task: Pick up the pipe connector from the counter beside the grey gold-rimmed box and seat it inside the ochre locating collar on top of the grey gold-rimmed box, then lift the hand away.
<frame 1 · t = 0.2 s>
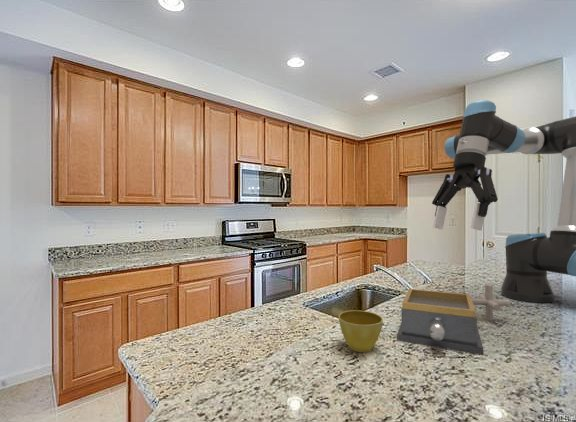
hand: (455, 228, 83), 27 cm above the countertop, tool tilted 15°, fingers open, 13 cm apart
pipe connector: (489, 320, 88), on the countertop
flower pot: (360, 348, 71), on the countertop
grey gold-rimmed box: (438, 333, 78), on the countertop
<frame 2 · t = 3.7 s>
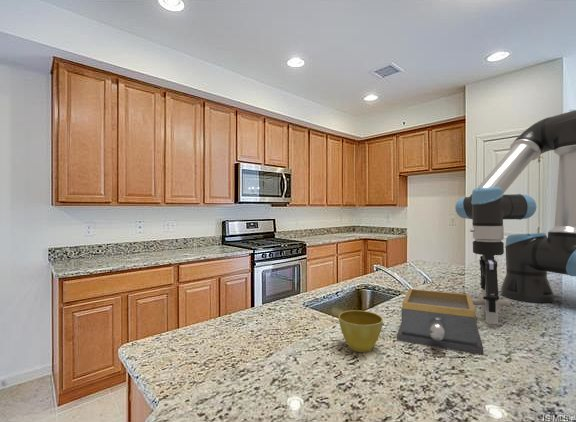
hand: (489, 317, 88), 1 cm above the countertop, tool pointing down, fingers closed on pipe connector, 10 cm apart
pipe connector: (489, 320, 88), on the countertop, touching gripper
everything else where it was.
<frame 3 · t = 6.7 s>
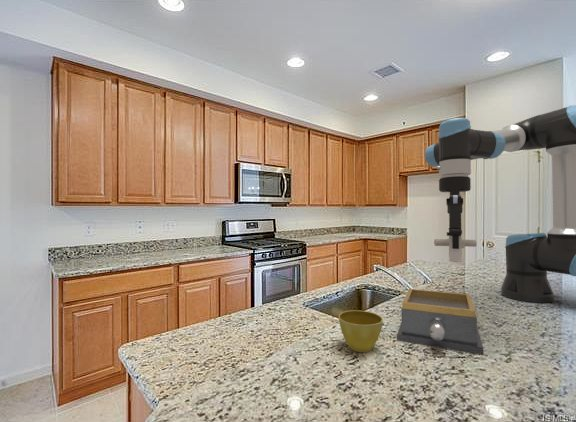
hand: (454, 258, 82), 19 cm above the countertop, tool pointing down, fingers closed on pipe connector, 10 cm apart
pipe connector: (454, 262, 82), point 18 cm above the countertop, touching gripper
everything else where it was.
when the fingers open (10 cm above the countertop, at t = 10.0 s): pipe connector drops 2 cm, resting on grey gold-rimmed box.
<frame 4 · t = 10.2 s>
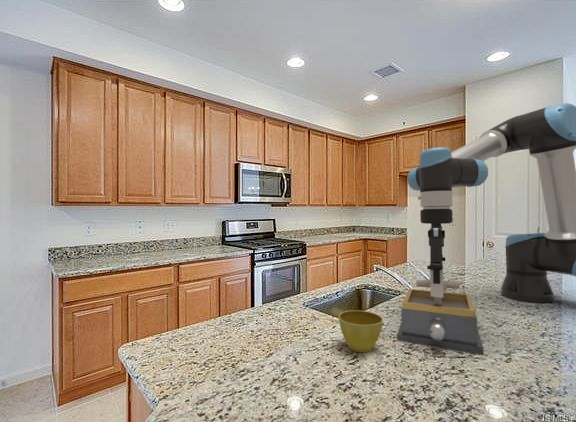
hand: (437, 290, 79), 11 cm above the countertop, tool pointing down, fingers open, 13 cm apart
pipe connector: (437, 304, 79), point 7 cm above the countertop, touching grey gold-rimmed box
everything else where it was.
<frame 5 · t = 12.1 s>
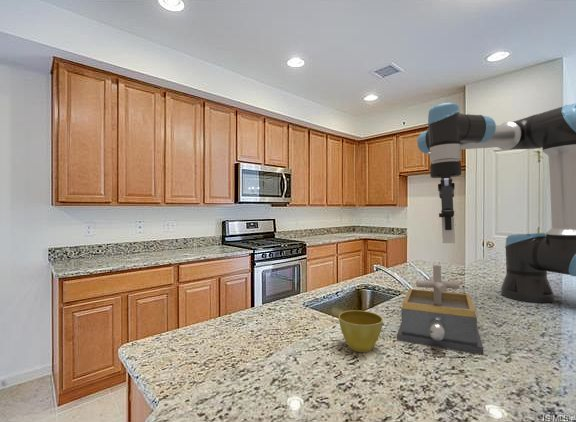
hand: (448, 240, 82), 24 cm above the countertop, tool pointing down, fingers open, 13 cm apart
nothing on the countertop moved.
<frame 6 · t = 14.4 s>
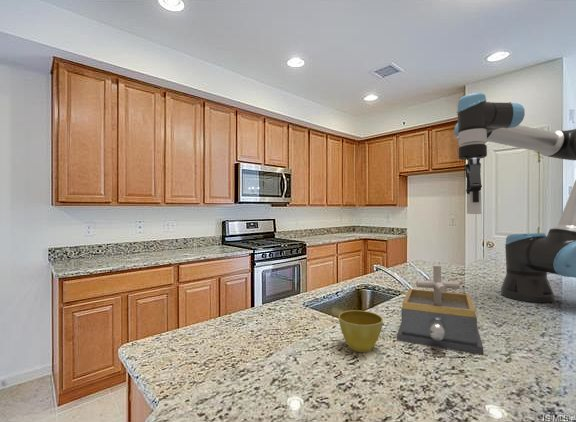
hand: (473, 213, 94), 31 cm above the countertop, tool pointing down, fingers open, 13 cm apart
nothing on the countertop moved.
at the end: pipe connector 0.1 cm off-centre on the grey gold-rimmed box, point 7.3 cm above the grey gold-rimmed box's base; pipe connector tilted 0°; the gripper is holding nothing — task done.
